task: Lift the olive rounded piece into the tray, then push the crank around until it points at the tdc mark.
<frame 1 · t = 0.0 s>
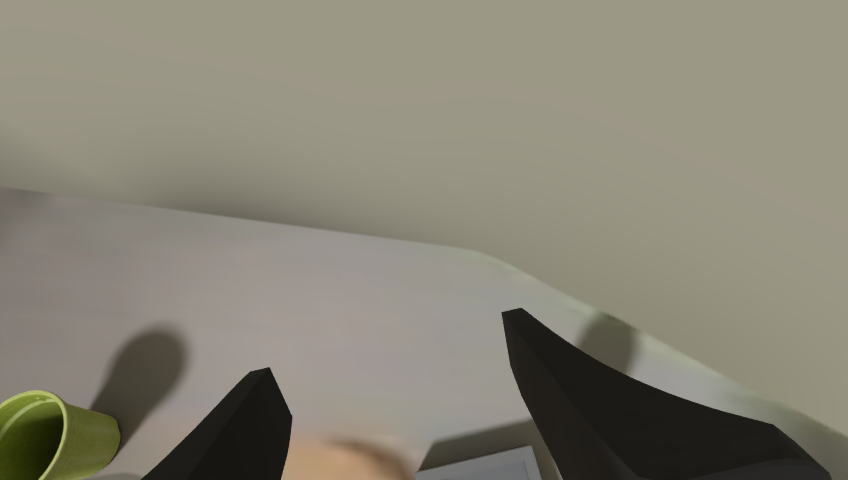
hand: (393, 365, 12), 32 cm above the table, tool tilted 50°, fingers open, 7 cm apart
plant pot: (96, 444, 44), on the table
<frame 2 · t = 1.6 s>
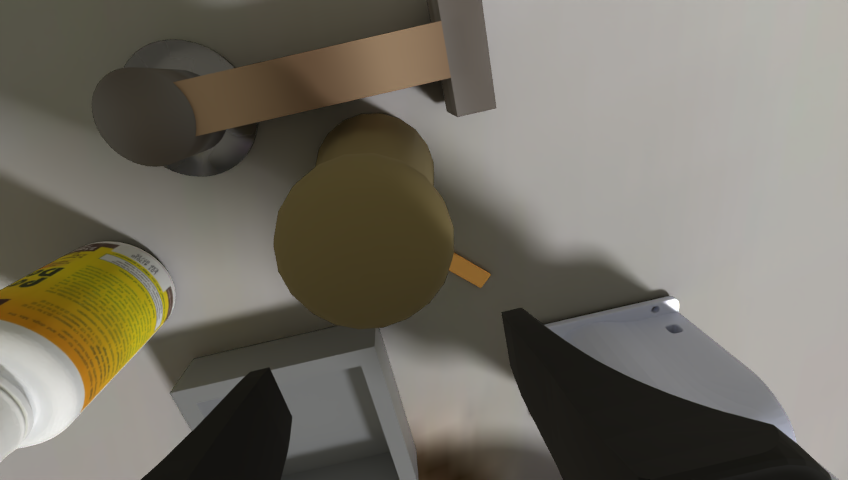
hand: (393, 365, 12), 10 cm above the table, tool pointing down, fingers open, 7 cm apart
supplement bottle: (127, 283, 22), on the table
olive rounded piece: (375, 173, 21), on the table
tdc mark: (464, 268, 23), on the table
tray: (313, 407, 26), on the table
crank: (301, 84, 17), point 2 cm above the table, hinge at 0.0°
crank base: (190, 111, 19), on the table
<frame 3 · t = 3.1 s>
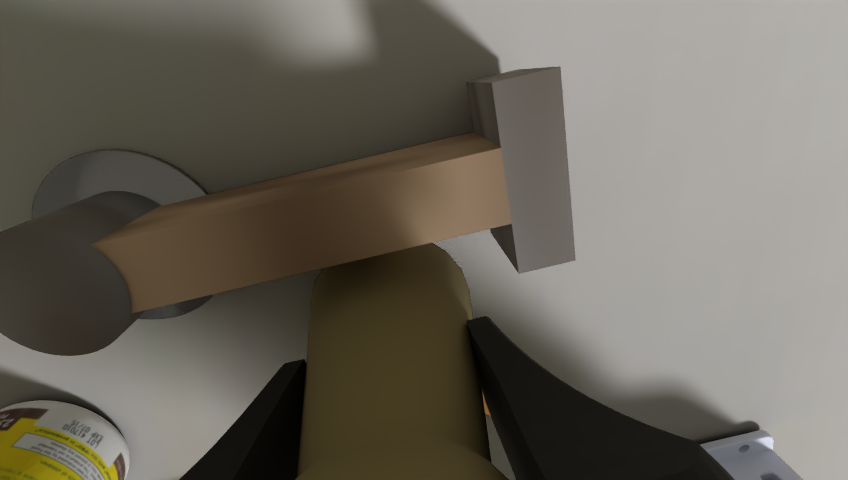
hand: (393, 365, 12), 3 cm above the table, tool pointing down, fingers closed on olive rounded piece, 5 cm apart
supplement bottle: (66, 441, 17), on the table
olive rounded piece: (392, 304, 16), on the table, touching gripper
crank: (290, 220, 12), point 2 cm above the table, hinge at 0.0°
crank base: (137, 239, 14), on the table
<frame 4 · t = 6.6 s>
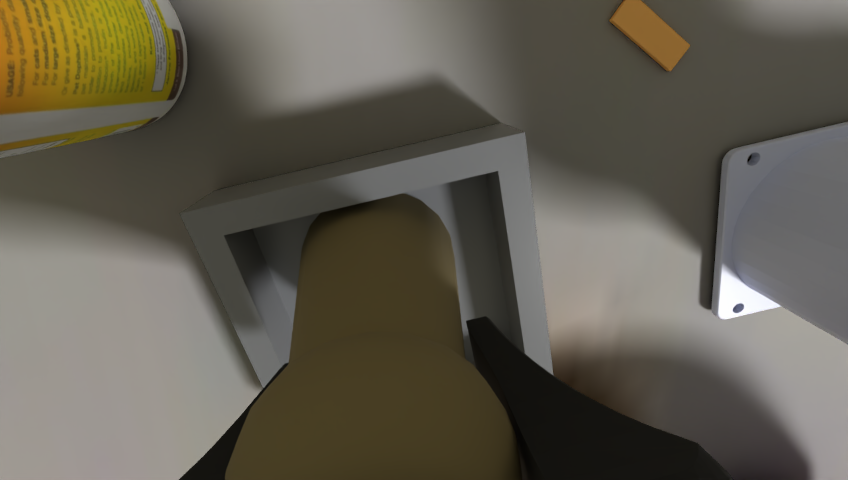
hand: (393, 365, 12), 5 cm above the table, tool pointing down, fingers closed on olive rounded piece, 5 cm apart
supplement bottle: (108, 43, 13), on the table
olive rounded piece: (379, 260, 16), resting on tray, touching gripper
tdc mark: (648, 33, 14), on the table
tray: (393, 283, 17), on the table
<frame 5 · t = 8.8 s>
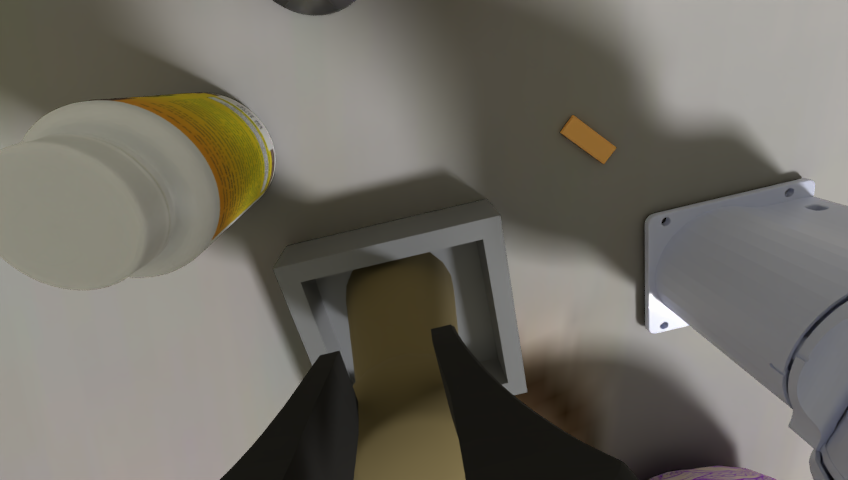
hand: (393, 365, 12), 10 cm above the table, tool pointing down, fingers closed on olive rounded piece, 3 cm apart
supplement bottle: (221, 152, 20), on the table
olive rounded piece: (400, 293, 23), resting on tray, touching gripper
tdc mark: (587, 139, 21), on the table
tray: (409, 308, 24), on the table
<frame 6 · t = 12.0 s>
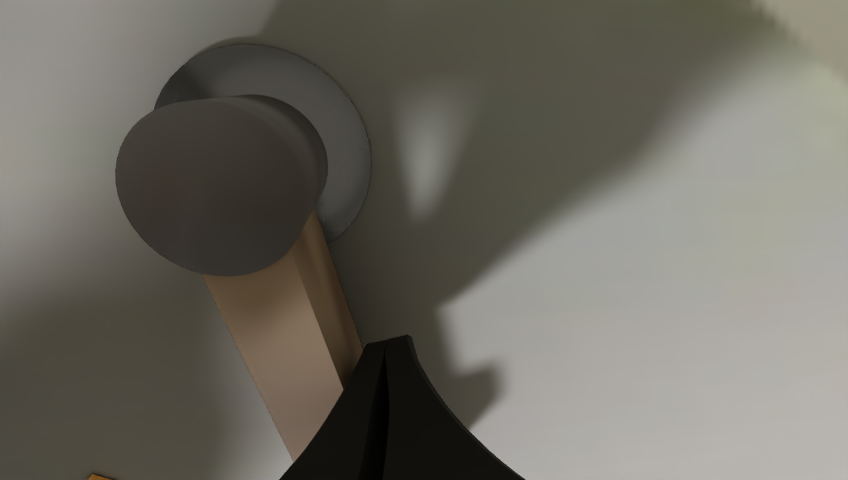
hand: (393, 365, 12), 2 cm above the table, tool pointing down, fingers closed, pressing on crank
crank: (317, 364, 12), point 2 cm above the table, hinge at 0.0°, touching gripper
crank base: (266, 160, 12), on the table
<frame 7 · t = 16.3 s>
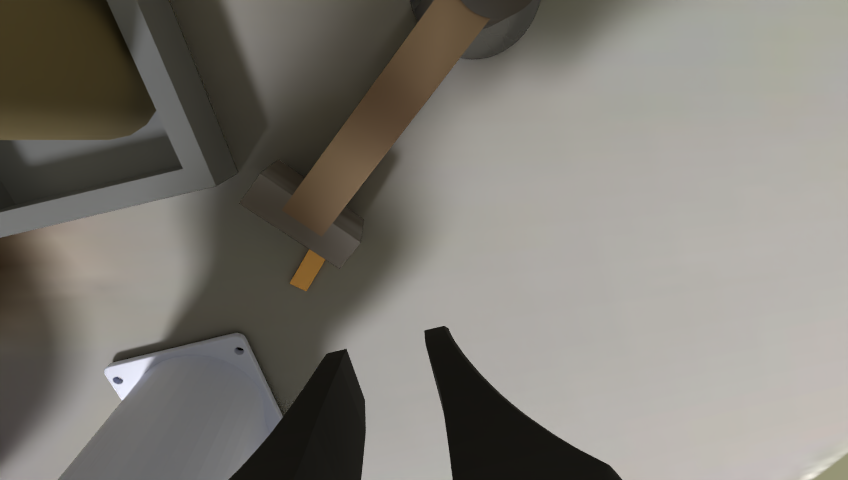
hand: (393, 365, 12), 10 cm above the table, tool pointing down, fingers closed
olive rounded piece: (88, 67, 17), resting on tray
tdc mark: (311, 264, 22), on the table
tray: (67, 80, 18), on the table
crank: (397, 92, 17), point 2 cm above the table, hinge at 51.7°
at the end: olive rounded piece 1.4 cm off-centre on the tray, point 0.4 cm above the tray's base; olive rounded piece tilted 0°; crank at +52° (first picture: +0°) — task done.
